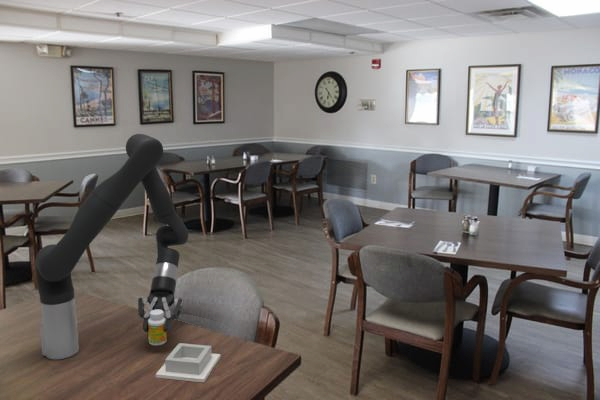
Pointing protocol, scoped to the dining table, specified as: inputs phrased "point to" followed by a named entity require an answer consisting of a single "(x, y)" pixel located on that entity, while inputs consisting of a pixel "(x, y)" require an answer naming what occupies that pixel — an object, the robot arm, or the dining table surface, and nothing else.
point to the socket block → (189, 363)
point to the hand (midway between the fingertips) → (155, 331)
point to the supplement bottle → (156, 327)
